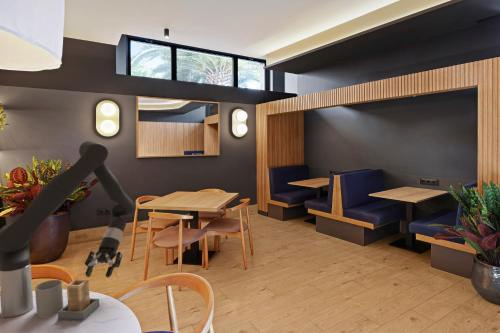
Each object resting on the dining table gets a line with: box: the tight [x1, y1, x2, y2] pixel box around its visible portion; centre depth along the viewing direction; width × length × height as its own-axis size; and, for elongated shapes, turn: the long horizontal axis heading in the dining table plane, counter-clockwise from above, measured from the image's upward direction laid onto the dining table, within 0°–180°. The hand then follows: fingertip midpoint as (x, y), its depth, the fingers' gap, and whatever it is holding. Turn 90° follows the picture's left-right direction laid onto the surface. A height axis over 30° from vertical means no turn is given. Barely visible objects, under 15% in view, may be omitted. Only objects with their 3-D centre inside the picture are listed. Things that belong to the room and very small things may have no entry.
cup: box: [34, 279, 64, 318], centre depth 112 cm, size 8×8×10 cm
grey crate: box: [57, 298, 101, 322], centre depth 110 cm, size 10×10×3 cm
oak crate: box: [66, 278, 91, 311], centre depth 110 cm, size 5×5×11 cm
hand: (97, 276), depth 121 cm, fingers open, 8 cm apart
